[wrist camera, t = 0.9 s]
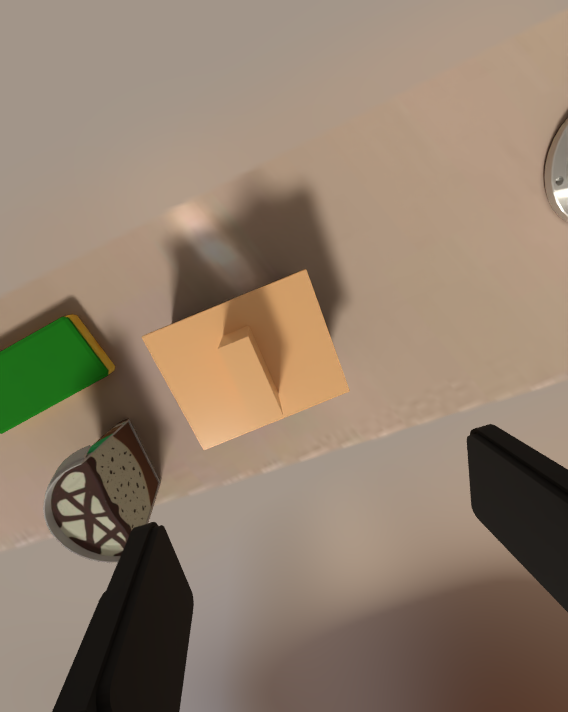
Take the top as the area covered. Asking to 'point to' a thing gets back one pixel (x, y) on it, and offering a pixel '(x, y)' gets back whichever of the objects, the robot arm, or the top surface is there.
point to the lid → (249, 360)
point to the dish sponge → (48, 369)
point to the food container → (102, 495)
